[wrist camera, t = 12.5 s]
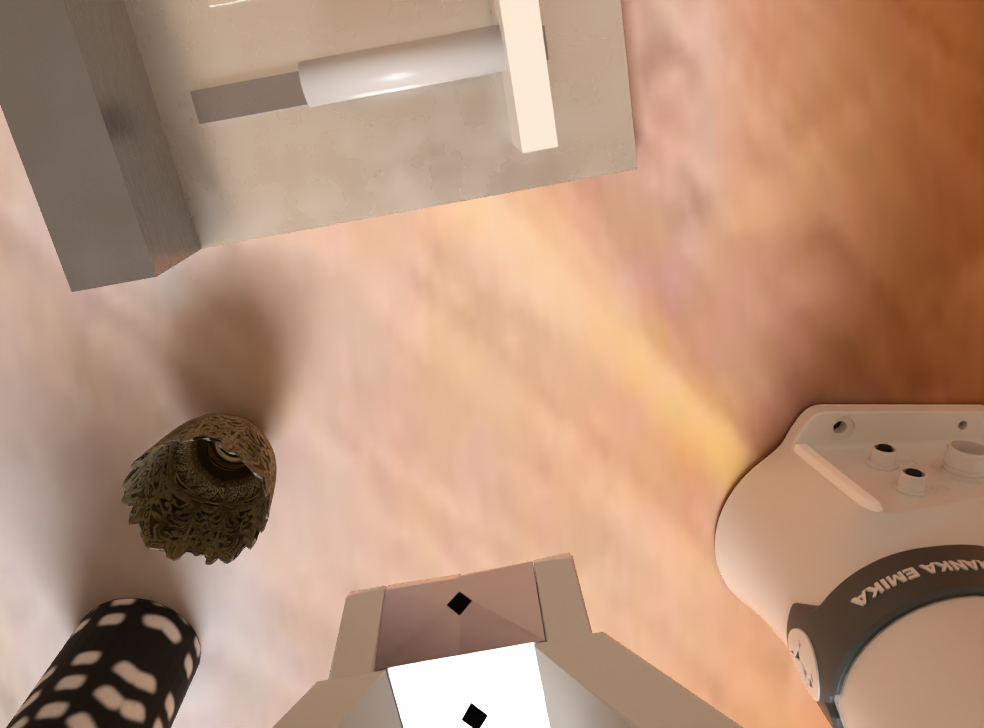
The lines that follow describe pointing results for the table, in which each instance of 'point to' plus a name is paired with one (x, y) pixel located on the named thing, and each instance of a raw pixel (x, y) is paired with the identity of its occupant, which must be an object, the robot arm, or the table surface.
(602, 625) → the table surface
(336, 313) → the table surface
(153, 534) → the cup
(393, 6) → the gauge base
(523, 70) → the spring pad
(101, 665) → the spotted tube
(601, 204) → the table surface
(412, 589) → the robot arm
